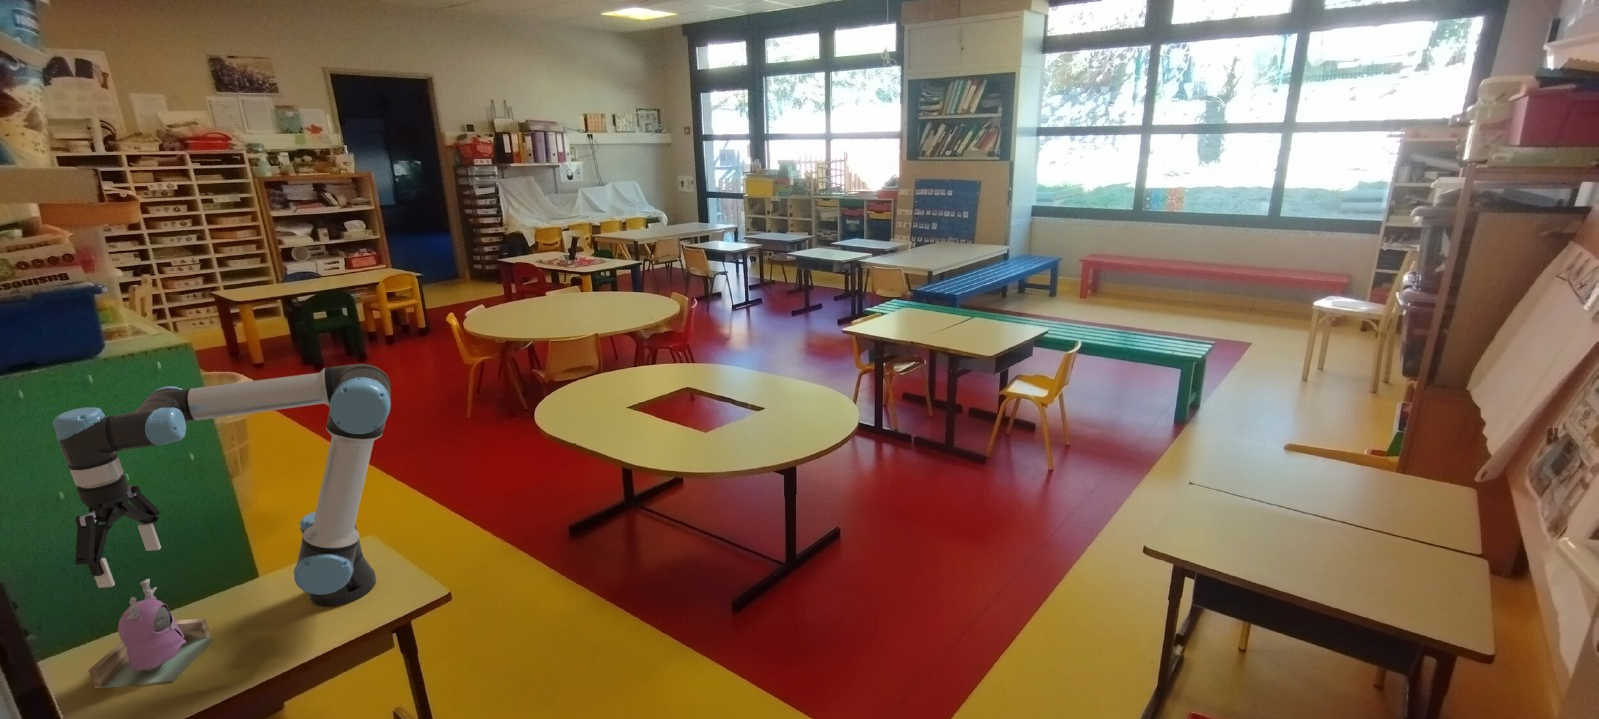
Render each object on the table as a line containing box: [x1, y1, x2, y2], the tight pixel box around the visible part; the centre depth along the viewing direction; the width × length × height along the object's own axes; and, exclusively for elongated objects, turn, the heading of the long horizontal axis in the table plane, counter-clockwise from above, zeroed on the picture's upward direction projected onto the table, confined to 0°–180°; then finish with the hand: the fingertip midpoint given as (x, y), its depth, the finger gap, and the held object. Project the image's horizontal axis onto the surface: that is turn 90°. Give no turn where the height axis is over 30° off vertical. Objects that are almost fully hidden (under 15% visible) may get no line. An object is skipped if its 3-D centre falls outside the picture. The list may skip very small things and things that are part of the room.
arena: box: [88, 617, 214, 689], centre depth 167 cm, size 16×16×5 cm
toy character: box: [117, 578, 186, 673], centre depth 163 cm, size 12×10×20 cm
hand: (131, 567), depth 158 cm, fingers open, 13 cm apart
